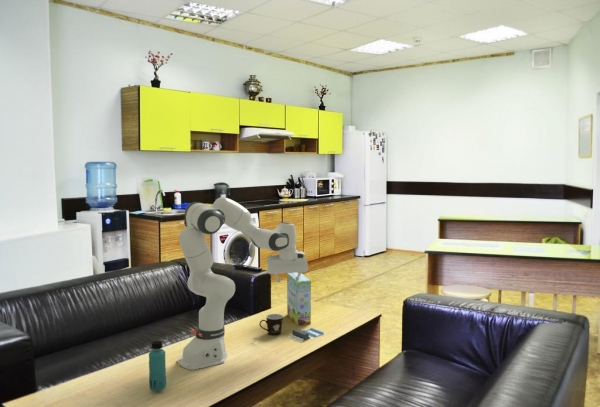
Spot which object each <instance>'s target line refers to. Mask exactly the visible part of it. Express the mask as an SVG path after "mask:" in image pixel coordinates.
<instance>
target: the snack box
mask: <svg viewBox="0 0 600 407" xmlns="http://www.w3.org/2000/svg"><path fill="white" fill-rule="evenodd" d="M297 276H298V273H286V290H287V291H286V304H287V306H286V307H287V308H286V309H287V311H286V312H287V313H286V314H287V316H288V317H289V318H290V319H291V321H292V322H294V323H295V324H296V325H297V326H302V325H303V326H304V325H311V323H312V322H311V320H312V311H311V310H312V309H311V308H312V304H311V303H312V302H311V301H312V299H311V298H312V297H311V296H312V294H311V290H312V287H311V286H312V280H311V279H310V278H307V276H306V275H305V274H303V272H301V275H300V277H299V281H296V280H295V279H296V278H295V277H297Z"/></svg>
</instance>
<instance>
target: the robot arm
mask: <svg viewBox="0 0 600 407" xmlns="http://www.w3.org/2000/svg"><path fill="white" fill-rule="evenodd" d="M184 210H185V211H184V219H183V220H184V221H183V222H184V224H183V225H184V226H185V228H183V229H182V230H181V231H180V232H179V235H178V239H179V240H178V241H179V245H180V248H181V249H180V250H182V251H181V252H182V254H183V257H184V259H185V260H186V261H185V262H186V264H187V266H188V268H189V273H190V275H189V276H188V279H187V282H186V284H187V285H186V286H187V288H188V290H189V291H190V292H192V293H194V294H195V295H198V296H200V297H205V299H206V300H205V305H204V306H202V307H201V308H200V309H199V311H198V328H197V329H196V328H195V329H194V328H192V329H191V330H190V333H191V334H192V335H195V336H194V337H193V338H192V339H191V340H190V341H189V342H188V343H187V344H186V345H185V346H184V347H183V350H182V356H180V357H178V358H177V362H176V363H177V364H178V365H179V366H180V367H182V368H183V369H186V370H190V371H194V370H199V368H200V369H205V368H208V367H212V366H216V365H220V364H224V363H225V360H226V359H227V357H228V353H227V350H226V346H225V345H226V344H225V331H226V330H225V324H224V316H225V314H224V313H225V308H226V305H227V303H228V301H229V300H230V299H232V297H234V294H235V292H236V284H235V281H234V279H233V280H232V278H229V277H228V276H226V275H221V274H217V273H214V272H213V271H212V266H213V264H214V257H213V255H212V252H211V250H210V247H209V245H208V242H207V240H206V235H213V234H216V233H218V231H220V229H221V228H222V226H223V225H226V226H227V227H229V228H230V229H233V230H234V231H238V232H241V233H242V234H244V235H245V236H246V237H247V238H249V239H250V241H251V243H252V244H253V245H254V246H255V247H256V248H258V249H264V250H268V251H272V252H278V254H273V255H272V254H270V255H269V256H267V258H266V263H267V267H266V269H267V271H266V272H267V273H268V274H269V275H274V277H275V278H276V282H277V283H281V278H280V277H279V276H278V275H279V274H287V273H298V276H297V277H295V278H296V279H295V280H296V281H299V277H300V275H301V273H307V272H308V270H309V265H308V260H307V259H306V253H305V252H304V251H302V250H298V249H297V245H296V242H297V231H296V225H295V224H294V223H292V222H286V221H282V222H279V224H278V225H277V227H275V228H274V229H267V228H264V227H257V226H256V225H255V224H253V223H252V222H251V221H252V213H251V212H250V211H249V210H248V209H247V208H246V207H244V206H243V205H242V204H240V203H238V202H237V201H235V200H233V199H231V198H228V197H224V196H221V197H218V198H217V199H216V200H215V201H214V202H213V204H212V205H208V204H204V203H203V202H199V201H193V202H190V203H189V204H188V205H187V206H186V207H185V209H184Z"/></svg>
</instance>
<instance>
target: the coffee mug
mask: <svg viewBox="0 0 600 407" xmlns="http://www.w3.org/2000/svg"><path fill="white" fill-rule="evenodd" d="M283 319H284V316H283V315H282V314H280V313H269V314H267V315H266V318H265V319H261V320H260V321H259V326H260V328H261V329H263V330H264V331H267V335H269V336H272V337H273V336H274V337H277V336H280V335H281V334H282V327H283ZM263 322H265V323H266V326H267V328H265V327H263V326H262V323H263Z"/></svg>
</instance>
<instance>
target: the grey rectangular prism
mask: <svg viewBox="0 0 600 407" xmlns="http://www.w3.org/2000/svg"><path fill="white" fill-rule="evenodd" d="M291 334H292V335H295V336H297V337H300V338H302V339H303V340H304V342H306V341H305V340H307V341H309V340H308V339H309V333H307V332H304V331H303V330H302V329H299V328H294V329H292V332H291Z"/></svg>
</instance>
